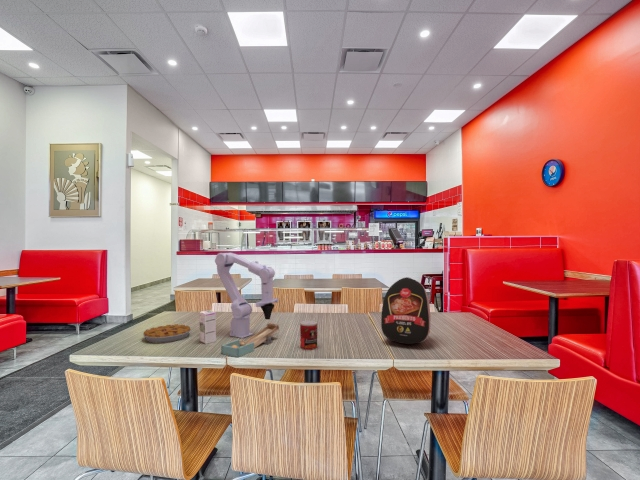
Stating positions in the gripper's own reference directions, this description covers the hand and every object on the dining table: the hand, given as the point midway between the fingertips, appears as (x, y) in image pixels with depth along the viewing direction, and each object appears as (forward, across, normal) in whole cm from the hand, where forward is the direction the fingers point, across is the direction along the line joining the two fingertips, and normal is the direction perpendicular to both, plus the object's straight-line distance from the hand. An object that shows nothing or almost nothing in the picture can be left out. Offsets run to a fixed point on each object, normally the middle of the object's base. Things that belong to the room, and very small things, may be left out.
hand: (267, 319), depth 160 cm
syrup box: (+9, -20, +21) cm, 30 cm away
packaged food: (+10, +27, -61) cm, 68 cm away
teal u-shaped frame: (+9, -22, -3) cm, 25 cm away
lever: (+7, -7, +1) cm, 10 cm away
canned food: (+10, -2, -26) cm, 28 cm away
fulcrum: (+9, -7, -3) cm, 12 cm away
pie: (+9, -25, +45) cm, 52 cm away
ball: (+8, -25, -3) cm, 26 cm away
